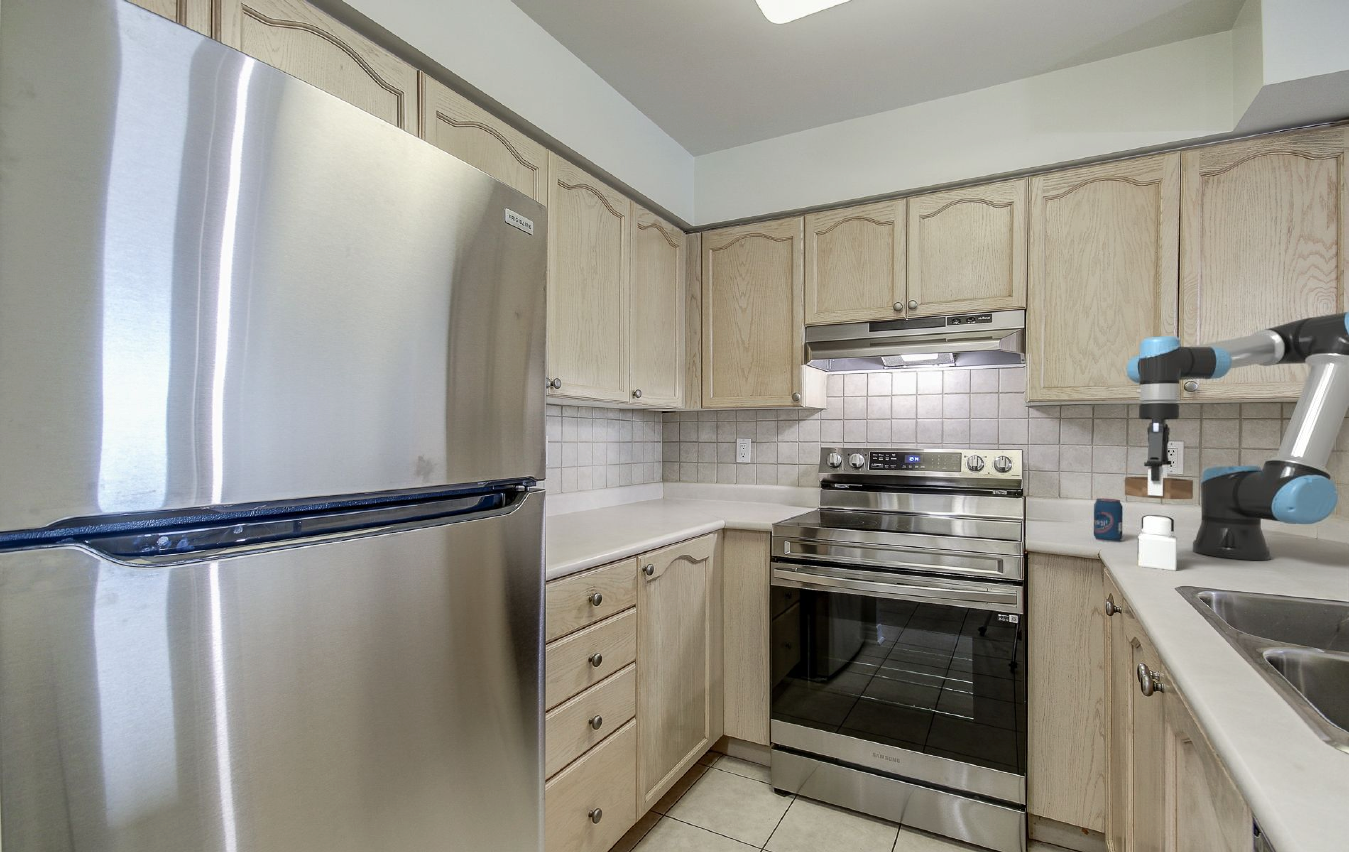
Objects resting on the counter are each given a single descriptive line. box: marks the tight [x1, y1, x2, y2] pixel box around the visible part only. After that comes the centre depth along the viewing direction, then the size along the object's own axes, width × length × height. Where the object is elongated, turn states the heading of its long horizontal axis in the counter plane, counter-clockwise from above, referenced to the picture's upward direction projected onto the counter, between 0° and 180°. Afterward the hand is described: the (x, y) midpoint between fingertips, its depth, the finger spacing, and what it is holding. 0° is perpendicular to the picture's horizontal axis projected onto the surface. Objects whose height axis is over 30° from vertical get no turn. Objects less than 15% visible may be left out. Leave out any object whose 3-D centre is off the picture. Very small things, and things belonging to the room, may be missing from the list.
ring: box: [1124, 476, 1194, 500], centre depth 148 cm, size 12×12×4 cm
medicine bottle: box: [1137, 514, 1178, 572], centre depth 148 cm, size 7×7×12 cm
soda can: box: [1093, 497, 1124, 543], centre depth 184 cm, size 7×7×12 cm
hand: (1157, 493), depth 148 cm, fingers closed on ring, 12 cm apart
